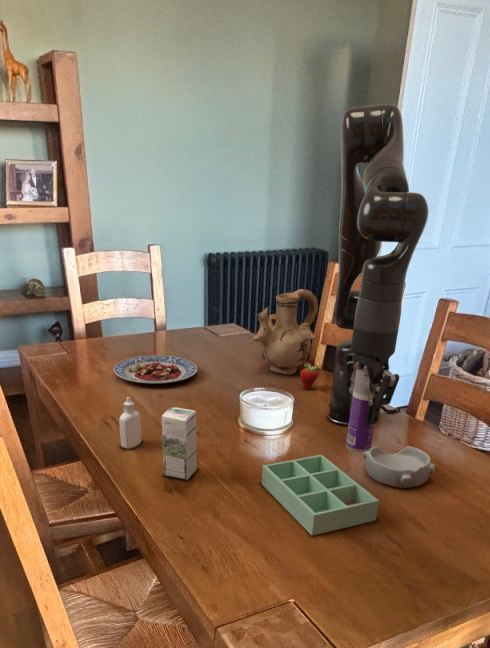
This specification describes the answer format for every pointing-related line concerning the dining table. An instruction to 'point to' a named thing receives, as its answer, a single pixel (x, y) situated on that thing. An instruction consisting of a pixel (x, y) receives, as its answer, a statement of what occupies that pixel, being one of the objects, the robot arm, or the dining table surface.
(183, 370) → the ceramic plate
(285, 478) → the rack
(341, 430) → the dining table surface
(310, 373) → the fruit
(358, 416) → the container
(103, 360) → the dining table surface
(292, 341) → the ceramic vessel
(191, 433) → the syrup box
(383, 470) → the dish
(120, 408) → the dining table surface
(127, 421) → the eye dropper bottle
